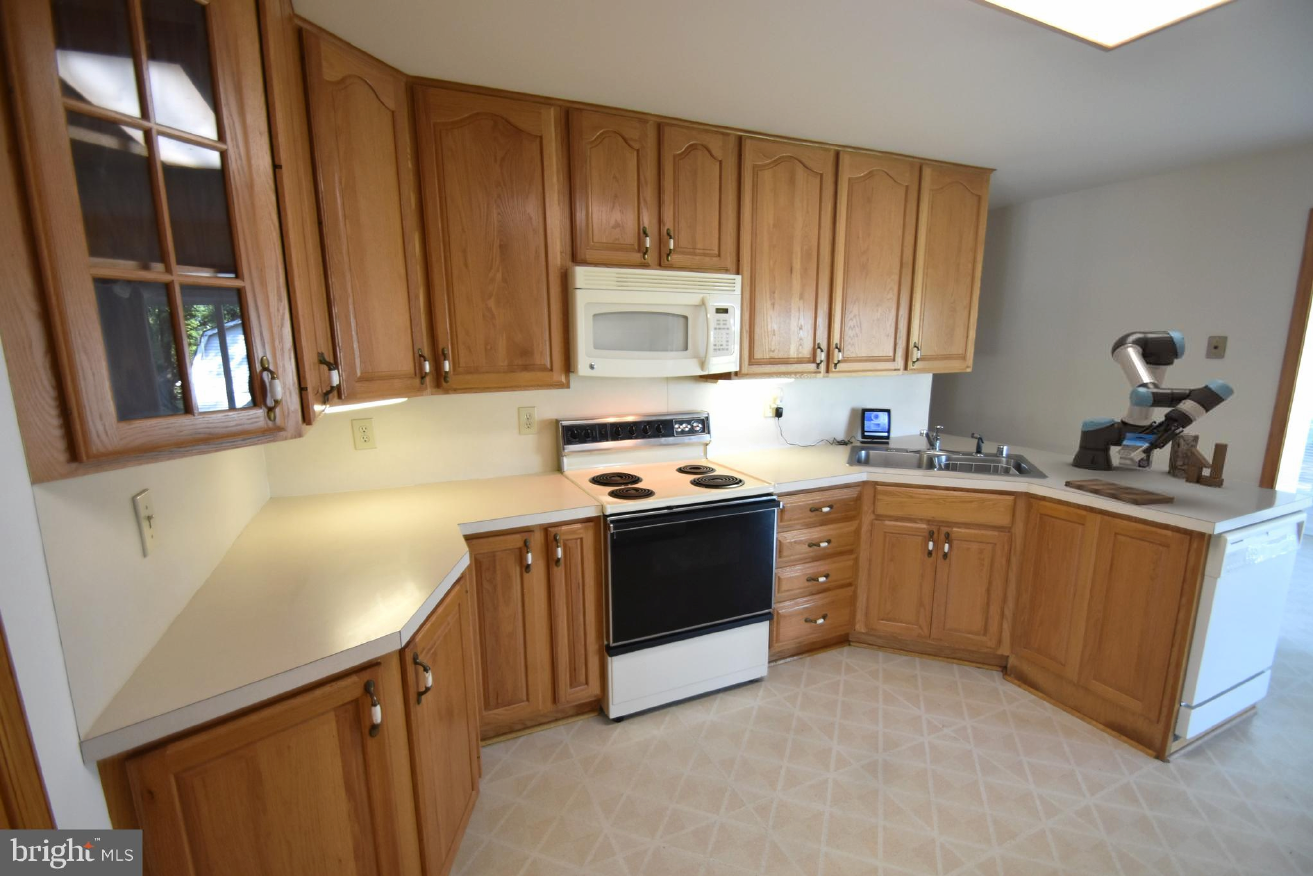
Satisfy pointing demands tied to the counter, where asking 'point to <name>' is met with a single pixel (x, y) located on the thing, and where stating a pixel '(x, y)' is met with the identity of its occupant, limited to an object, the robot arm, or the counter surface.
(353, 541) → the counter surface
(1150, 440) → the label tape box
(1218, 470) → the wooden block
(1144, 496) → the walnut board
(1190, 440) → the stone block
